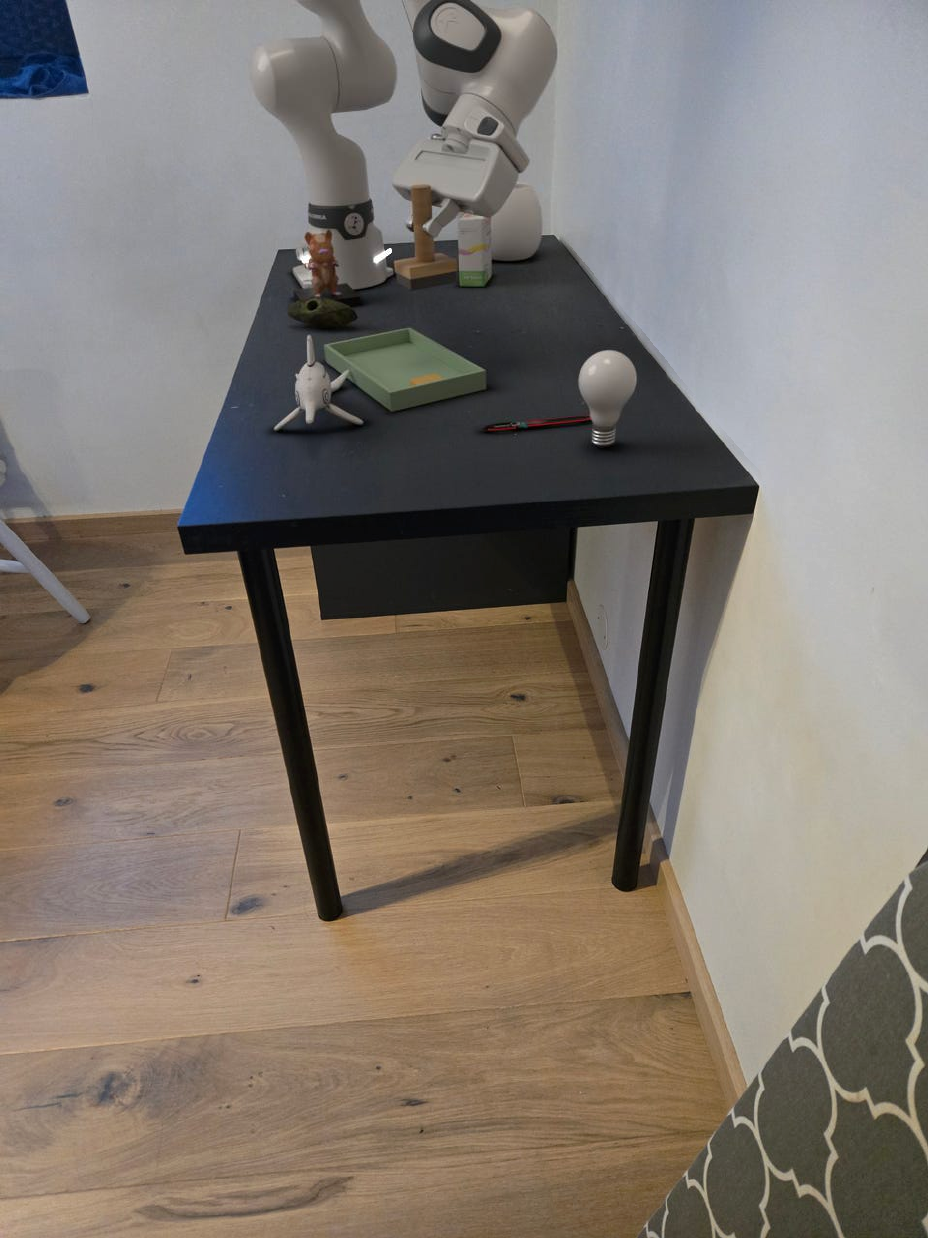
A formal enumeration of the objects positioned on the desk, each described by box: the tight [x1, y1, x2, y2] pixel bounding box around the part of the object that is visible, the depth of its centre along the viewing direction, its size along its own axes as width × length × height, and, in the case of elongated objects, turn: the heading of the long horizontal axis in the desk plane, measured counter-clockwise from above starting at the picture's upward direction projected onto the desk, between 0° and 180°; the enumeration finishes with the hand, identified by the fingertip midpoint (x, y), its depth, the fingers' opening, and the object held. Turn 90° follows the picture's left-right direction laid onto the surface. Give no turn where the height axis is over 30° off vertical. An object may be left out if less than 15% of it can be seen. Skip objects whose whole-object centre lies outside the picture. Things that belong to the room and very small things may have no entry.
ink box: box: [456, 212, 493, 288], centre depth 152 cm, size 9×5×15 cm, turn 168°
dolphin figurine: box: [273, 334, 364, 432], centre depth 102 cm, size 11×25×11 cm, turn 6°
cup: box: [491, 181, 543, 262], centre depth 167 cm, size 13×13×14 cm
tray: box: [323, 327, 487, 413], centre depth 116 cm, size 23×14×3 cm, turn 29°
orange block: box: [410, 374, 443, 386], centre depth 110 cm, size 4×4×1 cm
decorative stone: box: [287, 296, 359, 330], centre depth 135 cm, size 11×8×5 cm
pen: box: [481, 414, 591, 432], centre depth 100 cm, size 2×14×1 cm, turn 100°
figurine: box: [292, 230, 361, 308], centre depth 145 cm, size 10×10×12 cm
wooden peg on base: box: [393, 184, 458, 292], centre depth 109 cm, size 5×7×12 cm, turn 119°
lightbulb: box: [577, 349, 638, 449], centre depth 92 cm, size 6×6×11 cm
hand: (419, 231), depth 108 cm, fingers closed on wooden peg on base, 2 cm apart
